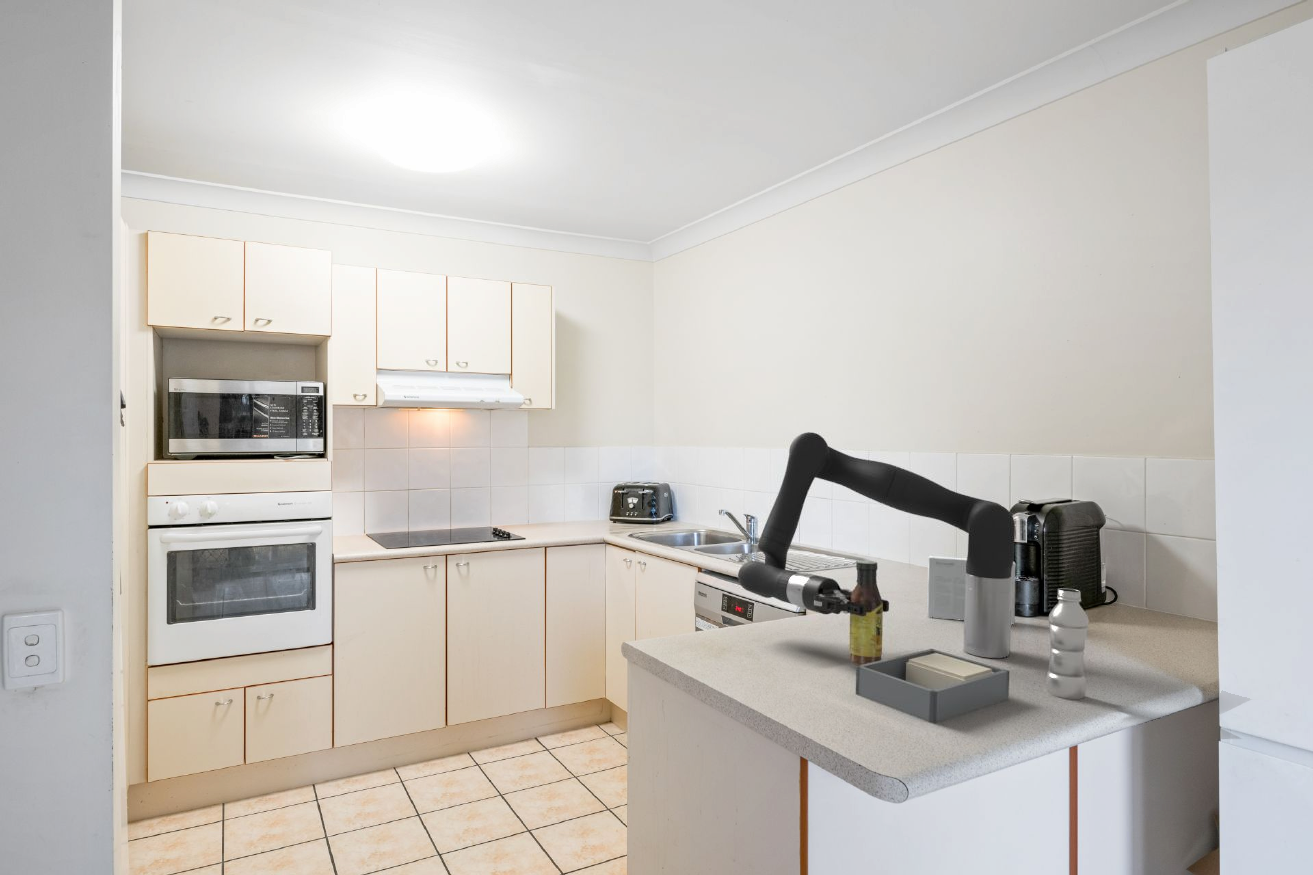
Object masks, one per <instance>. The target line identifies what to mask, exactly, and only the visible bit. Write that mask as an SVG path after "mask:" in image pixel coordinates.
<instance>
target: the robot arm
mask: <svg viewBox="0 0 1313 875" xmlns="http://www.w3.org/2000/svg"><path fill="white" fill-rule="evenodd" d="M787 459H788V460H787V464H786V469H785V471H784V472H785V473H784V476H783V479H782V481H781V485H780V488H779V490H778V493H777V496H776V499H775V501H774V503H773V506H772V507H771V511H770V512H769V515H768V517H767V519H766V522H765V524H764V527H763V529H762V533H761V534H760V537H759V540H758V543H757V544H758V545H757V547H758V550H759V551H760V552H762V554H764V562H761V561H756V560H751V561H747V562H745V563H744V564H743V565H742V566H740V569H739V570H738V572H737V573H738V575H737V579H738V582H739V584H740V586H741V588H742V589H743V590H745V591H748V592H750V593H753V594H755V595H758V596H760V597H763V598H765V599H771V598H774V599H777V600H779V601H780V602H784V603H788V604H790V605H795V606H797V607H799V608H801V609H805V610H808V611H811V612H815V613H817V614H818V613H819V614H822V615H830V614H835V615H838V614H841V613H843V614H845V615H847V614H850V613H851V614H855V615H859V616H865V615H866V605H864V604H860V603H856V602H852V601H851V594H852V592H853V590H850V589H849V588H841V587H840V585H839V583H838V581H836V580H835V579H833V578H829V577H825V576H821V575H817V574H813V573H812V574H811V573H807V572H803V573H802V572H798V571H795V570H789V569H786V567H787V566H786V565H787V558H788V552H789V549H790V547H791V544H792V542H793V540H794V536H795V534H796V530H797V529H798V525H799V521H800V518H801V515H802V512H803V507H804V504H805V501H806V498H807V495H808V492H809V491H810V488H811V486H812V483H813V482H814V480H815V478H816V479H819V480H824V481H826V482H831V483H833V484H837V485H840V486H843V487H845V488H847V489H848V490H852V491H854V492H855V493H858V494H859V495H862V496H863V497H865V498H868V499H870V500H872V501H875V502H877V503H880V504H882V505H885V506H887V507H890V508H893V509H895V510H898V511H901V512H905V513H907V514H911V515H916V516H919V517H925V518H929V519H933V520H937V521H941V522H944V523H946V524H948V525H951V526H952V527H955V528H957V529H959V530H961V531H962V532H965V533H967V534H968V538H967V539H968V540H967V557H966V558H967V561H966V584H965V586H966V587H965V618H964V621H963V622H964V624H963V626H964V627H963V651H964V652H965V653H968V654H970V655H972V656H976V657H983V658H992V659H1002V658H1003V657H1004V658H1007V657H1009V654H1010V653H1011V638H1012V637H1011V634H1012V625H1011V610H1010V598H1011V571H1012V566H1013V561H1014V557H1015V556H1014V555H1015V539H1016V538H1015V537H1016V524H1015V519H1014V517H1013V516H1014V515H1013V514H1012V513H1011V512H1010V511H1009V510H1008V509H1007V508H1006V507H1005V506H1003V505H1001V504H1000V503H997V502H996V501H990V500H984V499H982V498H981V499H980V498H977V497H973V496H969V495H966V494H962V493H960V492H956V491H953V490H952V489H951V490H950V489H949V488H946V487H945V486H942V485H941V484H939V483H936V482H935V481H933V480H931V479H928V478H927V477H924V476H923V475H920V474H917V473H915V472H912V471H911V470H908V469H905V468H901V467H899V466H897V465H893V464H891V463H886V462H883V461H877V460H870V459H864V458H858V457H854V456H851V455H848V454H846V453H844V452H841V451H839V450H836V449H834V448H833V447H830V445H828V443H827V441H826V440H825V439H824V438H823V437H822V435H820V434H819V433H815V432H804V433H800V434H799V435H797V436H796V437H795V438H794V439H793V440H792V442H791V444H790V446H789V450H788V458H787ZM881 599H882V602H883V613H887V612H889V610H890V601H889V600H886V599H883V598H881ZM1009 652H1010V653H1009ZM1006 656H1007V657H1006ZM1004 658H1003V659H1004Z"/></svg>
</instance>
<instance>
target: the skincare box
mask: <svg viewBox="0 0 1313 875" xmlns="http://www.w3.org/2000/svg"><path fill="white" fill-rule="evenodd" d="M966 561H967V557H951V556H939V555H928V563H927V564H928V565H927V618H928V617H931V618H930V619H937V618H941V619H940V620H948V619H960V620H964V618H965V587H966V586H965V584H966ZM1016 566H1017V565H1016V562H1015V561H1014V560H1013V566H1012V571H1011V598H1010V610H1011V623H1015V620H1016V619H1015V618H1016V617H1015V614H1016V613H1015V612H1016V611H1015V610H1016V608H1015V606H1016ZM932 617H933V618H932ZM1015 624H1016V623H1015Z"/></svg>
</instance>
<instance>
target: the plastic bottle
mask: <svg viewBox="0 0 1313 875" xmlns="http://www.w3.org/2000/svg"><path fill="white" fill-rule="evenodd" d="M1056 599H1057V600H1058V603H1056V604H1055V606H1054V607H1053V608H1052V609H1051V610H1050V612H1049V615H1048V628H1049V636H1050V656H1049V663H1048V670H1047V672H1046V677H1045V688H1046V692H1047V693H1048V694H1049V695H1052V696H1053V697H1057V698H1060V699H1066V700H1081V699H1083V698H1084V697H1085V696H1086V693H1087V681H1086V676H1085V661H1084V660H1085V659H1084V657H1085V648H1086V647H1085V646H1086V640H1087V634H1088V630H1089V629H1088V628H1089V623H1090V620H1089V618H1088V615H1087V613H1086V611H1085V610H1084V609H1083V608H1082V606H1081V605H1080V603H1081V602H1082V598H1081V591H1080V590H1078V589H1073V588H1061V587H1060V588H1057V596H1056Z"/></svg>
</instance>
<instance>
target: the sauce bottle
mask: <svg viewBox="0 0 1313 875" xmlns="http://www.w3.org/2000/svg"><path fill="white" fill-rule="evenodd" d="M855 568H856V574H857V576H856V586H855V587H854V589H853V590H852V591H853V592H852V594H851V601H852V602H856V603H860V604H864V605H866V615H865V616H859V615H855V614H851V613H849V660H850V661H851V662H852V663H853V664H857V665H863V664H867V663H872V662H876V661H880V660H882V655H883V619H884V617H883V614H884V612H883V602H882V599H883V598H882V596H881V593H880V590H879V587H878V584H877V583H878V582H877V571H878V568H879V567H878V562H877V561H874V560H867V559H866V560H863V559H862V560H857V561H856V565H855Z"/></svg>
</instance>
